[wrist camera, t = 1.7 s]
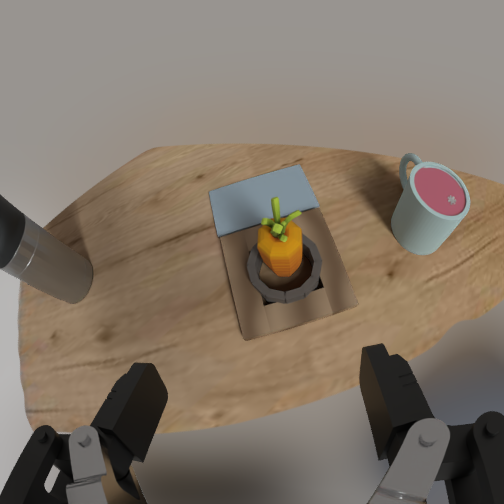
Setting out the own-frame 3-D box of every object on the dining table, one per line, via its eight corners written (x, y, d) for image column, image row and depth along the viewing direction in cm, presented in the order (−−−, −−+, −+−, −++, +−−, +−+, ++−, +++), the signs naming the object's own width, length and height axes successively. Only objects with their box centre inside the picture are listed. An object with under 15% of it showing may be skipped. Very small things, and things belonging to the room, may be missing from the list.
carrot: (276, 251, 38) (261, 184, 25) (309, 263, 37) (311, 199, 23) (261, 282, 37) (237, 227, 24) (295, 295, 35) (290, 246, 22)
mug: (450, 247, 33) (480, 213, 24) (404, 261, 34) (430, 226, 25) (416, 178, 39) (432, 137, 31) (371, 185, 40) (383, 141, 31)
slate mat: (218, 237, 41) (217, 236, 41) (209, 193, 45) (208, 191, 45) (319, 206, 40) (319, 205, 40) (299, 165, 44) (299, 164, 44)
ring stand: (246, 340, 34) (240, 337, 31) (222, 242, 41) (216, 230, 37) (356, 306, 33) (361, 299, 30) (318, 213, 40) (319, 199, 37)
